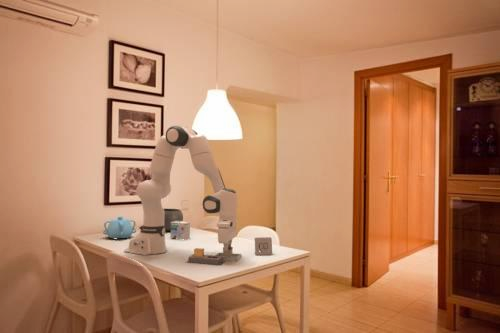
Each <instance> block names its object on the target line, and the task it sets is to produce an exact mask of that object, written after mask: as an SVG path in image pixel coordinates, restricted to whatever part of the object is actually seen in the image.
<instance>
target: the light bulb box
mask: <svg viewBox="0 0 500 333" xmlns="http://www.w3.org/2000/svg"><path fill="white" fill-rule="evenodd" d="M190 232H191V222H190V221H184V220H183V221H174V222H171V231H170V236H169V237H170V238H177V239H176V240H178V239H184V240H183V241H186V240H189V239H190V238H191V236H190V235H191V234H190ZM188 238H189V239H188ZM185 239H186V240H185Z"/></svg>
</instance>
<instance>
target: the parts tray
mask: <svg viewBox="0 0 500 333" xmlns="http://www.w3.org/2000/svg"><path fill="white" fill-rule="evenodd" d="M214 256H223V252H217V253H216V254H214ZM242 257H243V256H242V254H241V253H233V252H232V257H231V258H230V257H224V256H223V261H226V262H232V263H233V262H235V263H236V262H238V261H239V260H240V259H242Z"/></svg>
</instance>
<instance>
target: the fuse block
mask: <svg viewBox="0 0 500 333" xmlns="http://www.w3.org/2000/svg"><path fill="white" fill-rule="evenodd" d="M223 257H224V256H215V254H214V255H212V254H204V257H194V253H193V254H191V255H190V256H188V259H187V261H185V262H184V263H186V264H196V265H207V266H208V265H210V266H217V267H218V266H220V267H221V266H223V264H225V263H227V261H223Z"/></svg>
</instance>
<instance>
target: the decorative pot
mask: <svg viewBox="0 0 500 333" xmlns="http://www.w3.org/2000/svg"><path fill="white" fill-rule="evenodd" d="M131 222H133V226H132V223H131ZM107 223H109V224H108V226H107ZM136 225H137V224H136V221H135V220H134V219H128V218H124V217H123V216H117V218H113V219H111V220H106V221H105V222H104V224H103V227H104V230H103V232H102V234H103V235H107V236H108V238H110V239H113V238H117V239H123V238H130V237H131V236H132V235H133V234H136V233H137V229H136V228H135V227H136Z"/></svg>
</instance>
